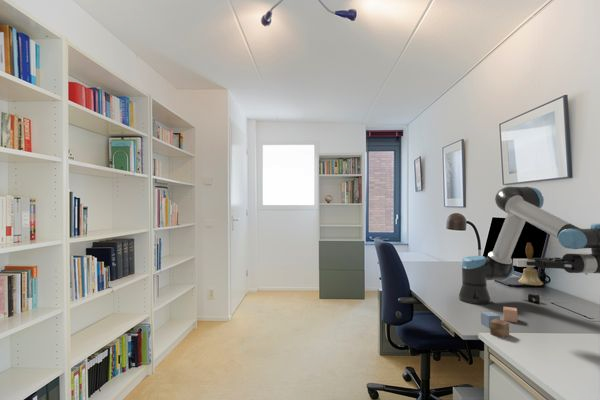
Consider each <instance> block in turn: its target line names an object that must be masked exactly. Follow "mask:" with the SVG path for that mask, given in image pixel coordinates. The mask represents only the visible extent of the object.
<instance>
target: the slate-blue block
mask: <svg viewBox="0 0 600 400" xmlns="http://www.w3.org/2000/svg"><path fill="white" fill-rule="evenodd" d="M494 319H498V320H501V316H500V315H499V314H497V313H495V312H493V311H482V312H480V324H481V325H482V326H485V327H486V328H488V329H490V321H492V320H494Z"/></svg>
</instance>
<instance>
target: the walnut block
mask: <svg viewBox="0 0 600 400" xmlns="http://www.w3.org/2000/svg"><path fill="white" fill-rule="evenodd" d="M489 329H490V331H489V332H490V335H492V336H495V337H500V338H503V337H504V338H503V339H505V338H506V336H507V337H508V336H510V321H504V320H502V319H500V320H498V319H494V320H492V321H490V328H489Z"/></svg>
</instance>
